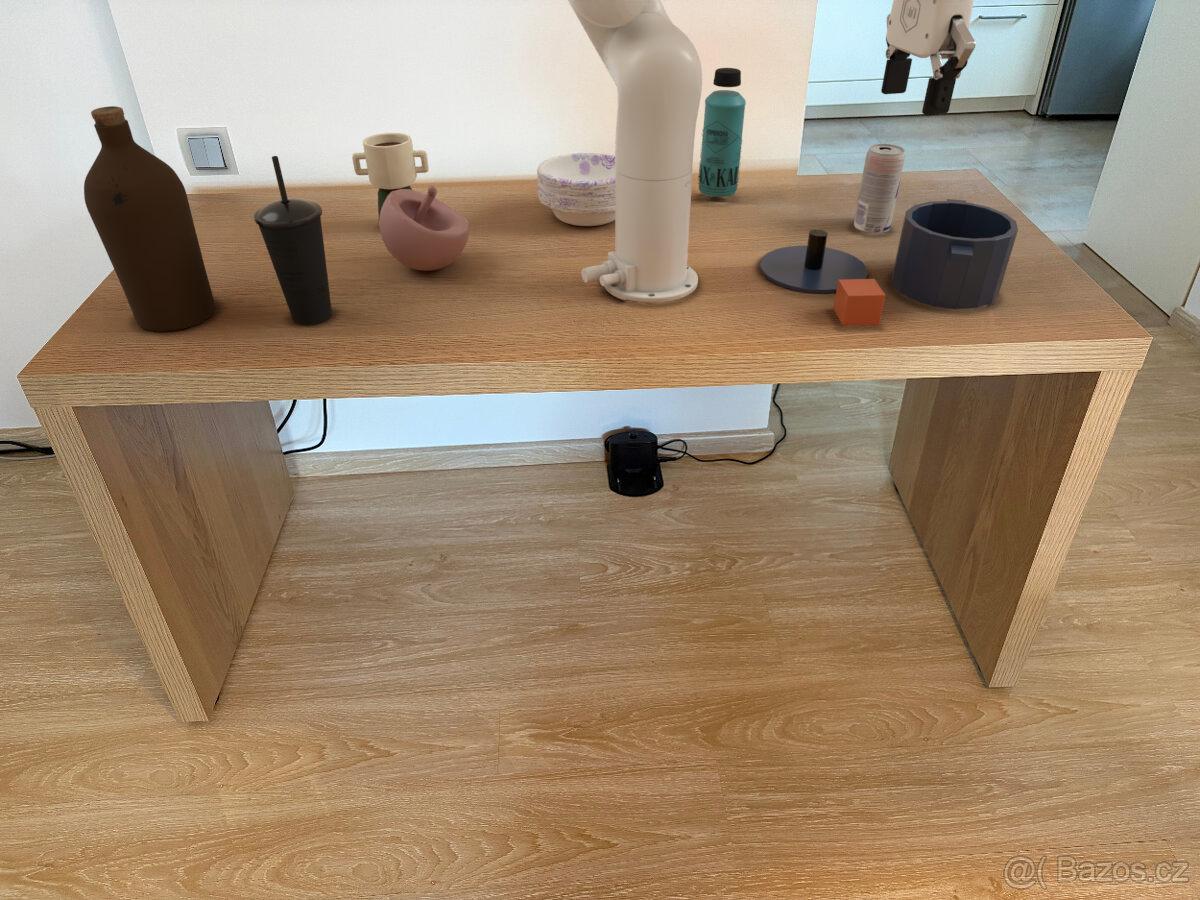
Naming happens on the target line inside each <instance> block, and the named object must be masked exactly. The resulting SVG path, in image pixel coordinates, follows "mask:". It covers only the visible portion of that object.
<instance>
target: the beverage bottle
mask: <svg viewBox="0 0 1200 900" xmlns="http://www.w3.org/2000/svg"><path fill="white" fill-rule="evenodd" d="M712 84H713V85H714V86H716V87H720V88H737V87H740V86H741V84H742V71H741V70H740V69H738V68H734V67H720V68H716V69H715V70H714V77H713V83H712ZM746 104H747V102H746V99H745V98H744V97H743V95H742V94H741V93H740V92H739V91H735V90H730V89H729V90H728V89H720V90H714V91H712V92H711V93H710V94H708V96H707V97H706V98H705V100H704V115H703V116H704V117H703V127H702V130H701V132H702V134H701V136H702V139H701V142H700V145H701V149H700V153H699V154H700V155H699V158H700V160H699V162H700V163H699V167H698V168H699V169H698V175H699V176H698V178H697V180H698V181H697V187H698V190H699V192H700V194H703V195H705V196H708V197H715V198H723V197H724V198H725V197H729V196H732V195H735V193H736V192H737V189H738V187H739V181H740V177H739V174H740V173H741V172H740V165H741V155H742V152H743V150H742V144H743V142H744V140H743V130H744V121H745V120H744V119H745V111H746Z"/></svg>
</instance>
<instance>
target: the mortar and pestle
mask: <svg viewBox="0 0 1200 900" xmlns="http://www.w3.org/2000/svg"><path fill="white" fill-rule="evenodd" d="M437 195H438V189H437V187H435V186H434V185H429V186H428V187H427V192H426V193H423V192H421V191H418V190H414V189H412V190H410V189H399V190H396V191H392V192H391V193H390V194H389V195H388V196H387V198H386V200H385V202H384V204H383V206H382V209H381V212H380V218H379V217H378V225H379V232H380V236H381V240H382V242H383V244H384V246H385V248H386V250H387V251H388V252H389V254H390V255H391V256H392V257H393V258H394V259H395V260H396V261H397V262H398V263H401V264H402V265H404V266H406V267H407V268H410V269H413V270H416V271H423V272H430V271H436V270H437V271H438V270H441V269H443V268H446V267H447V266H449V265H451V264H452V263H454V262H455V261H456V260H457V259H458V258H459V257H460V256H461V254H462V253H463V252H464V250H465V248H466V245H467V243H468V241H469V235H470V222H469V221H468V220H467V218H466V217H465V216H464V215H463V214H462V213H461V212H459V211H458V210H456V209H455V208H453V207H452V206H450V205H448V204H447V203H445V202H443V201H442V200H440V199H439V198H436V196H437Z"/></svg>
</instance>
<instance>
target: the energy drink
mask: <svg viewBox="0 0 1200 900" xmlns="http://www.w3.org/2000/svg"><path fill="white" fill-rule="evenodd" d="M905 151H906V150H905V148H903V147H902V146H900V145H896V144H890V143H876V144H872V145H870V146H869V147H868V149H867V151H866V154H865V159H864V165H863V170H862V177H861V182H860V186H859V187H860V188H859V191H858V192H859V193H858V197H857V204H856V210H855V216H854V220H853V227H854V228H855V229H856V230H858V231H861V232H864V233H871V234H882V233H886V232H889V231H890V230H891V226H892V223H893V217H894V212H895V207H896V203H897V198H898V193H899V189H900V183H901V178H902V174H903V170H904V164H905V160H906V152H905Z"/></svg>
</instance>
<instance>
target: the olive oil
mask: <svg viewBox="0 0 1200 900" xmlns="http://www.w3.org/2000/svg"><path fill="white" fill-rule="evenodd" d="M90 115H91V117H92V120H93V121H94V125H93V127H94V129H95V132H96V134H97V137H98V140H99V142H100V144H101V146H100V147H101V148H100V150H99V152H98V154H97V156H96V158H95V159H94V161H93V163H92V165H91V167H89V168H90V169H88V172H87V174H86V175H85V178H84V183H83V195H84V196H83V197H84V204H85V207H86V209H87V212H88V214H89V216H90V218H91V221H92V223H93V225H94V227H95V229H96V231H97V234H98V235H99V238H100V240H101V243H102V245H103V247H104V249H105V252H106V254H107V256H108V259H109V262H110V263H111V266H112V267H113V270H114V272H115V275H116V277H117V279H118V282H119V283H120V286H121V288H122V290H123V293H124V295H125V297H126V300H127V303H128V305H129V307H130V310H131V312H132V315H133V317H134V319H135V322H136V324H137V325H138V326H139V327H140V328H142V329H144V330H146V331H151V332H174V331H179V330H184V329H188V328H191V327H194V326H197V325H198V324H201V323H203V322H205V321H206V320H207V319H209V318H211V316H212V315H213V314H214V313H215V311H216V302H215V297H214V295H213V291H212V288H211V284H210V281H209V277H208V273H207V270H206V266H205V261H204V258H203V254H202V249H201V247H200V243H199V237H198V234H197V231H196V226H195V223H194V219H193V213H192V210H191V206H190V202H189V197H188V194H187V191H186V188H185V185H184V184H183V182H182V180H181V179H180V177H179V176H178V173H176V171H175V170H174V169H173V167H171V166H170V165H169V164H167V162H165V161H163V160H162V159H161V158H159V157H157V156H156V155H154V154H153V153H152V152H150V151H148V150H147V149H145V148H144V147H142V146H140V144H138V143H137V142H136V140H134V137H133V133H132V129H131V126H130V123H129V120H128V119H126V118H125V112H124V110H123V107H120V106H117V105H116V106H114V105H113V106H103V107H98V108H94V109H93V110H91V112H90Z"/></svg>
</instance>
